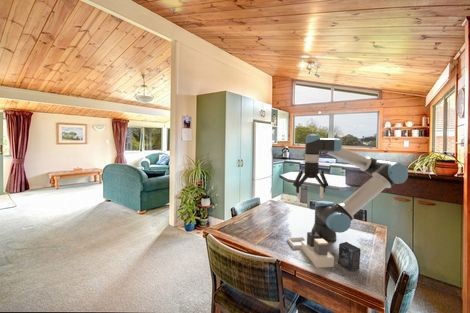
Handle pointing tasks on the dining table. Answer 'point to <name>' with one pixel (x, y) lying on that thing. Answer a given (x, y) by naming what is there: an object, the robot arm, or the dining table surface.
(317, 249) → the plug
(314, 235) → the twin plug
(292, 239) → the tray
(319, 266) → the beige socket block
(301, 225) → the dining table surface
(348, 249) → the box
